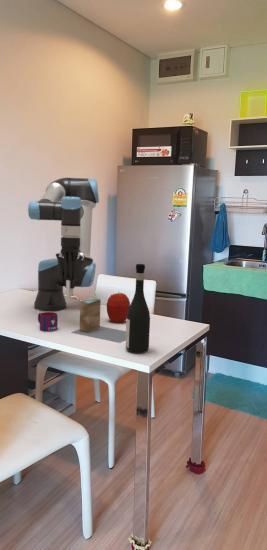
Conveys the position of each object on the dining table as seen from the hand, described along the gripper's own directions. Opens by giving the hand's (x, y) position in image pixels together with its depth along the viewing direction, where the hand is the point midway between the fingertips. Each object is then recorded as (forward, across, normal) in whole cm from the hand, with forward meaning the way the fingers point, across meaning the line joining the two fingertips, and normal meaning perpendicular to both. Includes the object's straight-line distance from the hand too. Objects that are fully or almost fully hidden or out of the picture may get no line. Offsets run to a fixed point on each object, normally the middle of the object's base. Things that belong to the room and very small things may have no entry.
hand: (69, 296), depth 171 cm
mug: (+13, -5, -8) cm, 16 cm away
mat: (+13, +17, 0) cm, 21 cm away
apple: (+13, +12, +18) cm, 25 cm away
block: (+12, +10, 0) cm, 16 cm away
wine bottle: (+13, +36, -9) cm, 39 cm away
